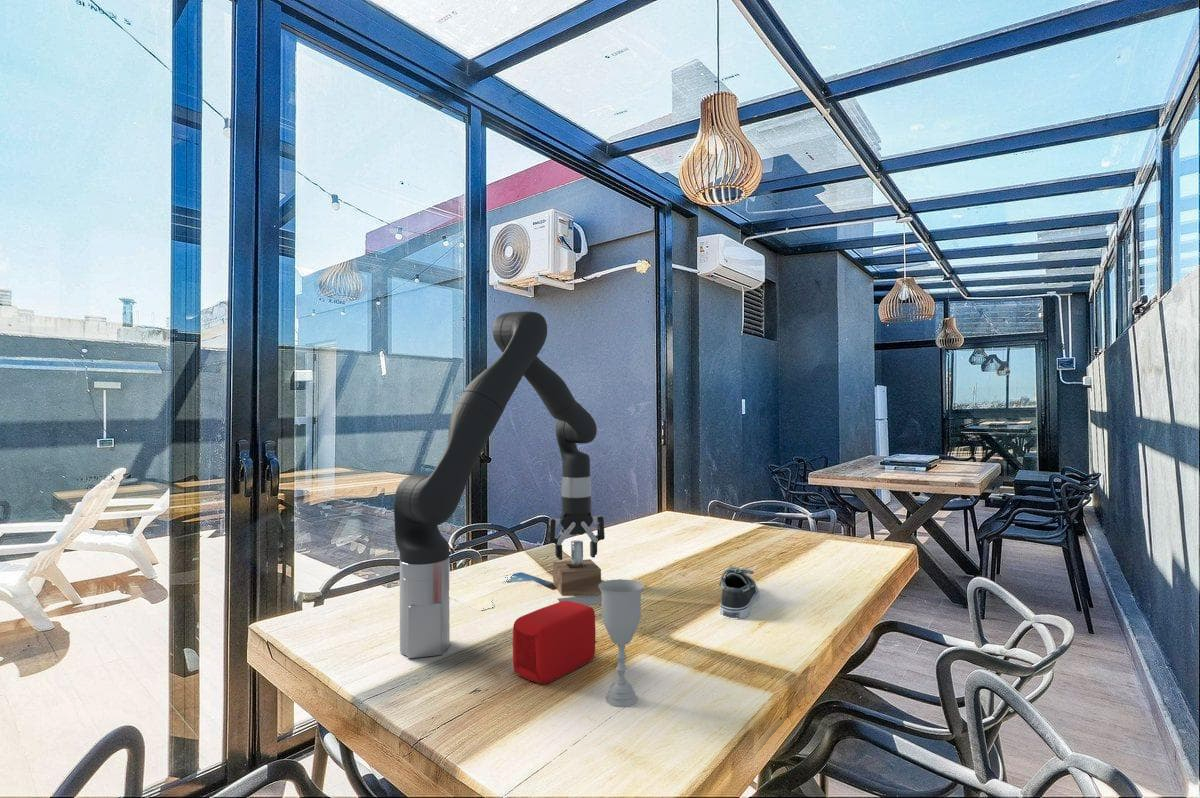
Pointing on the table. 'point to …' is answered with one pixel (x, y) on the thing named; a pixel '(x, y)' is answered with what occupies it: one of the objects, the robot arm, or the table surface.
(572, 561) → the pin
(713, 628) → the table surface
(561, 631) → the decorative item
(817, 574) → the table surface
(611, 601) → the chalice
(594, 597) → the mat
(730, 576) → the boat shoe
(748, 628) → the table surface
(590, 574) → the socket block
